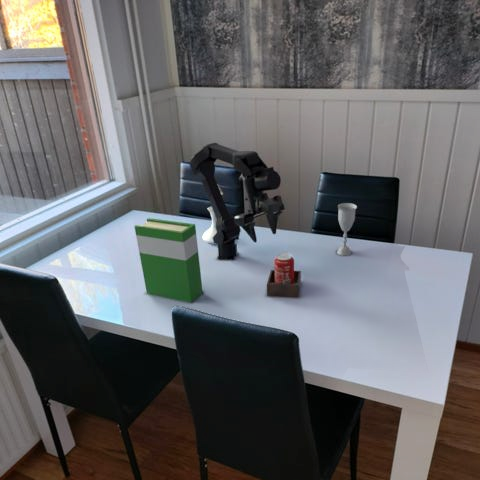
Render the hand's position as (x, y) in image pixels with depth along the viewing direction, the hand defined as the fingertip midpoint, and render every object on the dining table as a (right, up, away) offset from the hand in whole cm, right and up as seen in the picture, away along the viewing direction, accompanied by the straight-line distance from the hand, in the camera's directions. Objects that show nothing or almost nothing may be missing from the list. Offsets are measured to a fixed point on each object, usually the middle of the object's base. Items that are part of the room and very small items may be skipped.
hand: (265, 238), depth 160 cm
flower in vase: (-18, +5, +35) cm, 40 cm away
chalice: (+31, -3, +18) cm, 36 cm away
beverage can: (+6, -18, -4) cm, 19 cm away
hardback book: (-31, -19, -2) cm, 36 cm away
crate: (+6, -18, -4) cm, 19 cm away
